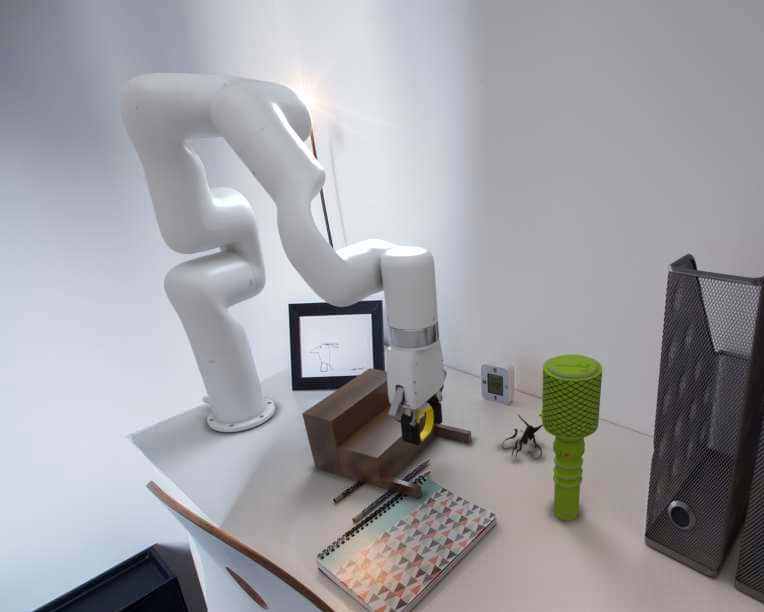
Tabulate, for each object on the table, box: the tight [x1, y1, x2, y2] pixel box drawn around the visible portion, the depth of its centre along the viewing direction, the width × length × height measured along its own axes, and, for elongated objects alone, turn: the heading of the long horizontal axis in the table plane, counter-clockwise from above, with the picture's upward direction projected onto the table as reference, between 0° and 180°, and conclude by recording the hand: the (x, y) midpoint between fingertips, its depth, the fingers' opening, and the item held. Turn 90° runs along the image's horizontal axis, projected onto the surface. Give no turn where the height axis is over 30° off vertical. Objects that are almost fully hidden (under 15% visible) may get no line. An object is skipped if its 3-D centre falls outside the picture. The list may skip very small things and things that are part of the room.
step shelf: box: [301, 367, 472, 500], centre depth 91 cm, size 21×18×11 cm
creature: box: [501, 413, 543, 460], centre depth 93 cm, size 8×5×8 cm
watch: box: [416, 402, 434, 441], centre depth 88 cm, size 6×3×6 cm, turn 160°
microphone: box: [538, 354, 604, 522], centre depth 74 cm, size 8×8×25 cm
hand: (423, 431), depth 89 cm, fingers closed on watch, 6 cm apart
